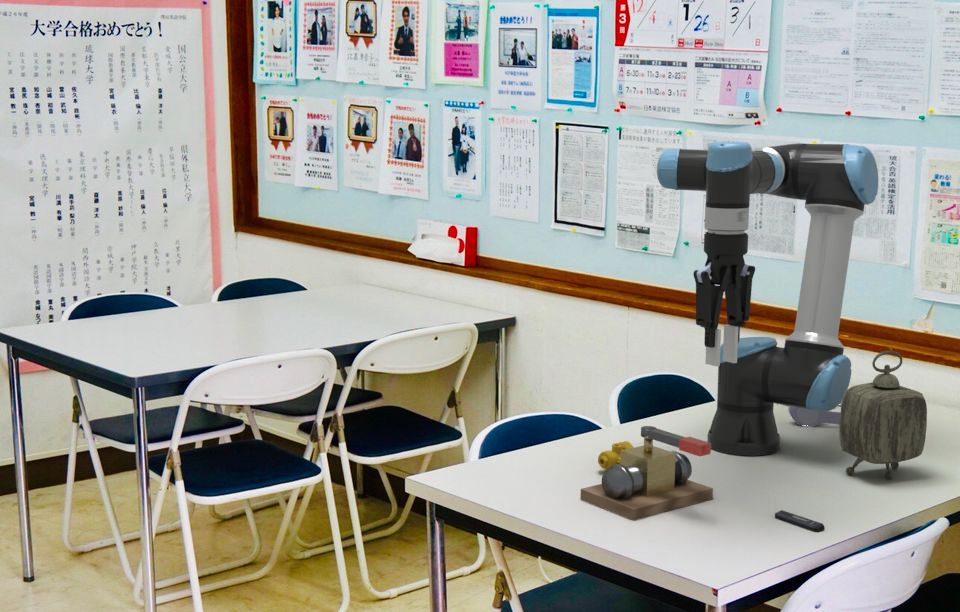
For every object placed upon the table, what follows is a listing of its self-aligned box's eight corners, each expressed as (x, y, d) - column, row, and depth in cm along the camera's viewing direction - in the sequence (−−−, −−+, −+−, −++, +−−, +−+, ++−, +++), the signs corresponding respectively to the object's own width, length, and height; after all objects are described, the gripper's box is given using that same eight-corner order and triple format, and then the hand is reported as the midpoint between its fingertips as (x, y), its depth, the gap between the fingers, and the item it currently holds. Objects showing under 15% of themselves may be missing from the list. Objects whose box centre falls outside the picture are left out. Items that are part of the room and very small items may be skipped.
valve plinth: (658, 479, 237) (658, 469, 237) (712, 498, 226) (713, 488, 226) (580, 499, 225) (580, 488, 225) (633, 520, 214) (633, 509, 214)
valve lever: (637, 436, 224) (637, 426, 223) (648, 434, 225) (648, 423, 225) (699, 456, 212) (700, 445, 211) (710, 454, 213) (711, 442, 213)
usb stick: (772, 519, 216) (773, 511, 216) (782, 516, 218) (782, 508, 217) (816, 535, 209) (816, 526, 208) (826, 531, 210) (826, 523, 210)
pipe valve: (668, 478, 233) (669, 426, 232) (695, 488, 228) (697, 435, 226) (597, 496, 223) (598, 442, 221) (624, 506, 217) (625, 451, 216)
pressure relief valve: (589, 469, 242) (620, 459, 249) (637, 493, 234) (668, 482, 241) (593, 444, 240) (625, 434, 247) (642, 467, 232) (673, 456, 240)
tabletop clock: (896, 466, 246) (903, 344, 242) (927, 479, 238) (936, 353, 234) (836, 473, 241) (843, 349, 237) (866, 487, 233) (874, 358, 229)
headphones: (787, 426, 276) (879, 436, 273) (790, 396, 275) (883, 405, 272) (779, 402, 298) (864, 411, 295) (782, 374, 296) (867, 383, 294)
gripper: (708, 236, 205) (703, 373, 209) (775, 230, 215) (769, 361, 219) (676, 232, 211) (672, 365, 215) (742, 226, 221) (737, 353, 225)
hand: (721, 363), depth 217 cm, fingers open, 4 cm apart
